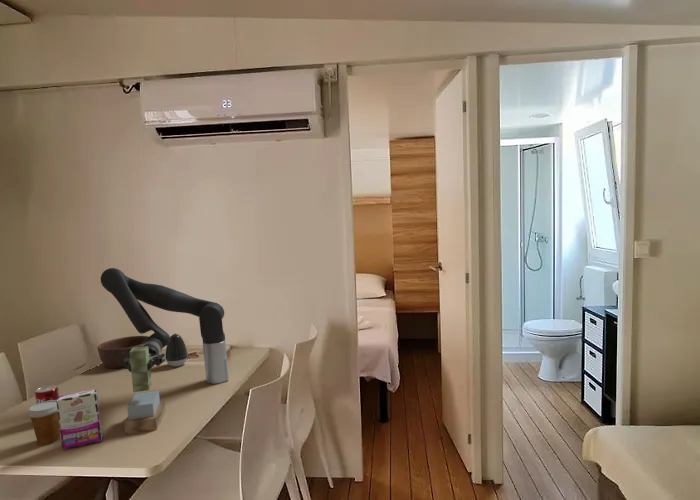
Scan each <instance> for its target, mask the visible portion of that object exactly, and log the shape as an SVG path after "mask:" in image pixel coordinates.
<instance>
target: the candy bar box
mask: <svg viewBox="0 0 700 500" xmlns="http://www.w3.org/2000/svg"><path fill="white" fill-rule="evenodd" d="M56 402H57V409H58V417H59V425H60V439H61V449H62V450H63V451H67V450H71V449H74V448H79V447H84V446H89V445H93V444H96V443H101V442H102V440H103V436H104V435H103V428H102V418H101V410H100V403H99V396H98V388H93V389H88V390H87V389H86V390H83V391H77V392H72V393H68V394H67V393H66V394H63V395H62V394H61V395H59V397H58V399H57V401H56Z"/></svg>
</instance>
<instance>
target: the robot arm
mask: <svg viewBox="0 0 700 500" xmlns="http://www.w3.org/2000/svg"><path fill="white" fill-rule="evenodd" d="M100 283H101V286H102V287H103V288H104V289H105V290H106V291H107V292H108V293H110V294H111V295H112V296H113V297H114V298H115V299H116V301H117V302H118V304H119V305H120V307H121V308H122V310H123V311H124V312H125V314H126V316H127V318H128V319H129V321H130V322H131V324H132V325H133V326H134V328H135V329H136V331H137V332H138V333H139V334H141V335H143V334H146V333H148V332H151V331H152V332H153V333H152V334H151V335H149V336H148V338H147V339H145V340H144V341H143V343H142V346H141V347H145V346H148V349H149V360H150V361H149V362H148V363H147V370H150V371H151V369H152V368H153V367H155V366H156V367H157V366H161V364H163V363H164V362H165V361H166V358H165V356H166V353H162V350H163V348H166V347H167V345H168V344H169V343H170V336H171V335H169V333H168V332H167V331H166V330H164V329H163V328H162V327H160V326H159V325H158V324H157V323H156V322H155V321H154V320H153V318H152V317H151V315H150V314H149V312H148V311H147V310H146V308H145V307H144V306H143V305H142V303H144V304H146V305H150V306H152V307H155V308H157V309H161V310H163V311H167V312H172V313H173V312H174V313H182V314H183V313H184V314H189V315H192V316H195V317H197V318H198V321H199V328H200V336H201V339H202V348H203V358H204V369H205V371H204V372H205V382H206V383H207V384H210V383H211V385H215V384H221V383H224V382H228V381H229V379H230V377H229V365H228V356H227V347H226V334H225V332H224V326H223V318H224V316H225V309H224V307H223V306H222V305H221V304H220V303H217V302H214V301H210V300H205V299H200V298H197V297H194V296H191V295H189V294H187V293H183V292H181V291H178V290H176V289H173V288H170V287H167V286H165V285H161V284H157V283H147V282H142V281H139V280H136V279H134V278H132V277H129V276H127V275H125V273H124V272H123V271H122V270H120V269H118V268H115V267H110V268H106V269H105V270H103V272H102V273H101V276H100ZM141 302H142V303H141ZM124 359H125V368H124V369H125V370H127V371H129V373H131V362H130V358H129V359H128V358H124Z"/></svg>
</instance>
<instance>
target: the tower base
mask: <svg viewBox="0 0 700 500" xmlns="http://www.w3.org/2000/svg"><path fill="white" fill-rule="evenodd" d="M165 401H166V400H165ZM165 401H164V400H160V404H159V406H158V408H157V411H156V413H155V415H154V416H153V417H146V418H139V419H132V420H129V419H128V416H127V418H126V419H125V420H124V422H123V423H124V424H123V425H124V433H125V435H129V434H135V433H143V432H150V431H151V432H152V431H157V430H158V429H159V427H160V426H161V425H160V424H161V423H162V420H163V418H164V416H165V414H166V402H165Z"/></svg>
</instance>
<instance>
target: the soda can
mask: <svg viewBox="0 0 700 500" xmlns="http://www.w3.org/2000/svg"><path fill="white" fill-rule="evenodd" d="M59 396H60V392H59V387H58V386H57V385H54V384H53V385H51V384H50V385H45V386H42V387H40V388H37V389H36V390H35V391H34V400H35V404H38V403H41V402H45V401H50V400H57V399H58V397H59Z"/></svg>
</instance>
